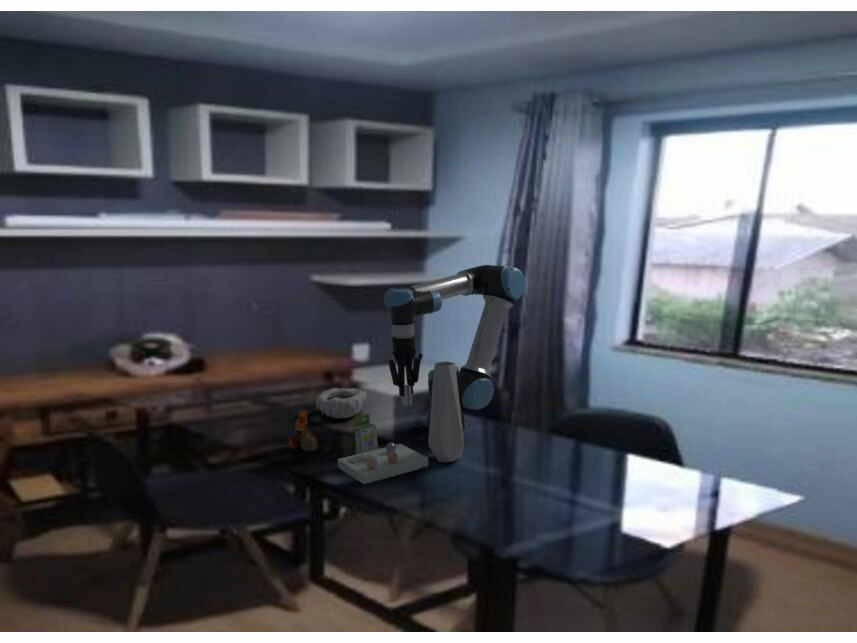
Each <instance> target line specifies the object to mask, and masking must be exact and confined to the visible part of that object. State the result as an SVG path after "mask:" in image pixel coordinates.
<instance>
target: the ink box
mask: <svg viewBox="0 0 857 643" xmlns="http://www.w3.org/2000/svg"><path fill="white" fill-rule="evenodd" d="M361 419H364V420H361ZM359 420H361V421H359ZM353 426H354V427H353V429H354V446H355V447H354V448H355V455H356V454H360V453H364V452H368V451H372V450H376V449H379V443H378V432H377V431H378V430H377V425H375V424H374V423H371V422H370V413H365V414H362V415H360V416H356V417H353Z"/></svg>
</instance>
